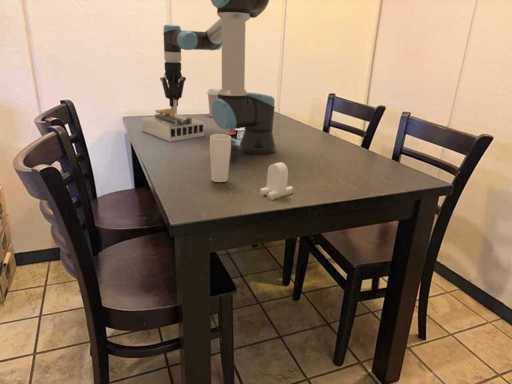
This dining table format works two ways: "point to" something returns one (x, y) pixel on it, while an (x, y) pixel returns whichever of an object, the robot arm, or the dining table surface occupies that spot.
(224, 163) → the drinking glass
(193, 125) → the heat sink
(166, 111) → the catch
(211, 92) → the coffee cup
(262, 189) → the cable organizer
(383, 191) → the dining table surface
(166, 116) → the strap
